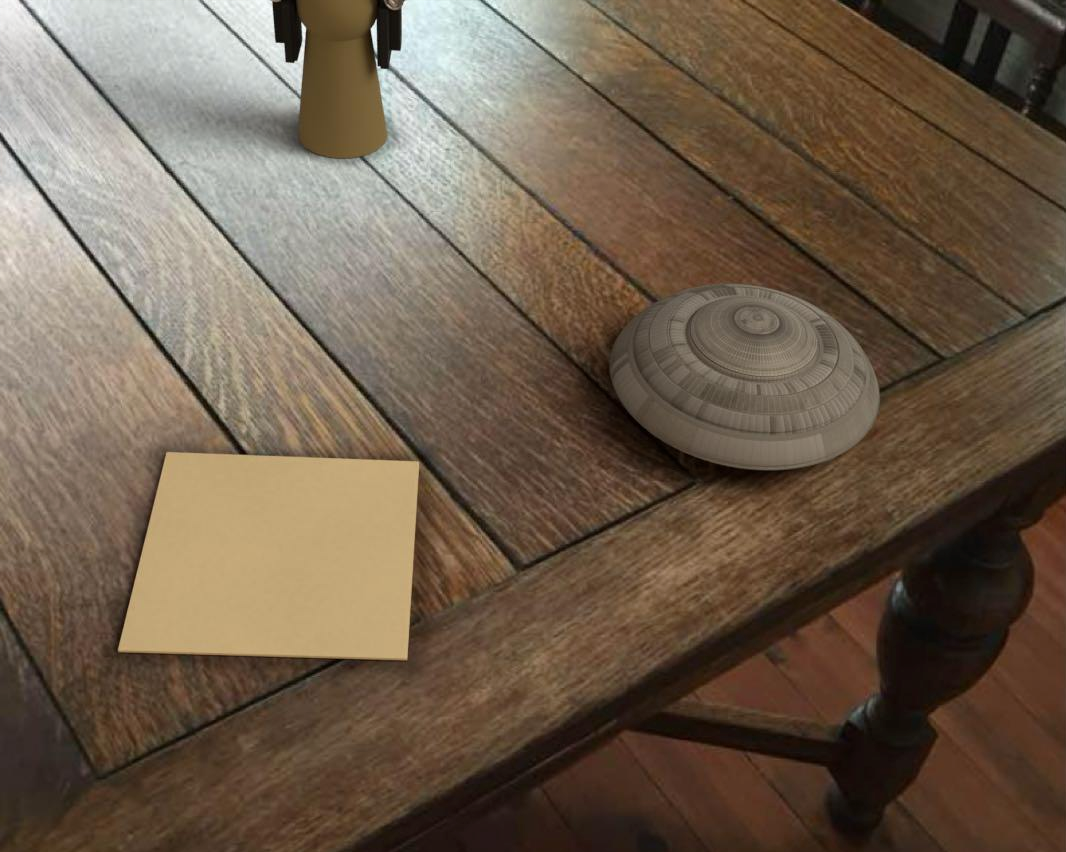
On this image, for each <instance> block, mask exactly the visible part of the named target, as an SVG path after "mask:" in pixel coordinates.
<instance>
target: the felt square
mask: <svg viewBox="0 0 1066 852" xmlns="http://www.w3.org/2000/svg"><path fill="white" fill-rule="evenodd" d="M419 472H420V461H416V460H392V459H390V460H388V459H387V460H386V459H366V458H365V459H363V458H338V457H336V458H335V457H313V456H311V457H309V456H285V455H284V456H283V455H282V456H281V455H259V454H258V455H256V454H255V455H254V454H234V453H233V454H231V453H229V454H228V453H206V452H205V453H204V452H203V453H202V452H179V451H178V452H175V451H166V453H165V457H164V461H163V465H162V469H161V474H160V477H159V480H158V485H157V489H156V493H155V497H154V502H153V505H152V510H151V514H150V518H149V521H148V525H147V529H146V533H145V537H144V541H143V542H144V543H143V546H142V550H141V554H140V558H139V561H138V567H137V570H136V575H135V579H134V583H133V587H132V591H131V594H130V599H129V604H128V608H127V610H126V615H125V619H124V624H123V627H122V631H121V635H120V640H119V644H118V647H117V652H118V653H130V654H131V653H133V654H164V655H165V654H166V655H167V654H169V655H202V656H203V655H204V656H205V655H206V656H235V657H238V656H239V657H241V656H242V657H268V658H269V657H271V658H272V657H273V658H306V659H307V658H311V659H337V660H338V659H340V660H341V659H342V660H343V659H344V660H372V661H373V660H374V661H377V660H378V661H379V660H380V661H408V657H409V656H408V653H409V638H410V637H409V636H410V624H411V623H410V622H411V604H412V590H413V573H414V557H415V542H416V541H415V540H416V524H417V508H418V507H417V506H418V490H419V488H418V487H419V475H420V473H419Z"/></svg>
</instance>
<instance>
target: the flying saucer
mask: <svg viewBox="0 0 1066 852" xmlns="http://www.w3.org/2000/svg"><path fill="white" fill-rule="evenodd" d="M610 351H611V352H610V356H609V374H610V379H611V383H612V386H613V388H614V389H613V390H614V391H615V393H616V396H617V397H618V399H619V401H620V402H621V404H622V405H623V407H624V408H625V409H626V411H627V412H628V414H629V415H631V417H633V419H634V420H635V421H636V422H637V423H638V424H639V425H640V426H641V427H642V428H644V429H645V430H647V432H649V433H650V434H652V435H653V436H655V437H656V438H657V439H659V440H660V441H662V442H663V443H665V444H667V445H669V446H670V447H672V448H674V449H676V450H678V451H681V452H682V453H685V454H687V455H689V456H692V457H695V458H698V459H700V460H703V461H706V462H710V463H713V464H717V465H720V466H725V467H728V468H729V467H730V468H735V469H743V470H751V471H785V470H793V469H794V470H796V469H800V468H806V467H810V466H814V465H818V464H822V463H824V462H827V461H829V460H832V459H834V458H836V457H838V456H840V455H842V454H844V453H845V452H847V451H849V450H850V449H852V448H853V447H855V446H856V445H857V444H858V443H859V442H860V441H861V440H863V438H865V436H866V435H867V434H868V433H869V431H870V430H871V429H872V427H873V425H874V423H875V421H876V418H877V416H878V412H879V409H880V402H881V401H880V397H881V393H880V386H879V382H878V379H877V376H876V372H875V370H874V367H873V365H872V363H871V361H870V359H869V358H868V356H867V354H866V352H865V351H864V349H863V348H862V347H861V345H860V344H859V343H858V341H857V340H856V339H855V337H854V336H853V335H852V334H851V333H850V332H849V330H847V328H845V327H844V325H842V324H841V323H840V322H839V321H837V320H836V319H835V318H834V317H833V316H832V315H830V314H829V313H827V312H826V311H824V310H822V309H821V308H819V307H818V306H816V305H814V304H812V303H810V302H809V301H807V300H805V299H802V298H800V297H798V296H795V295H792V294H790V293H787V292H785V291H781V290H777V289H773V288H770V287H765V286H759V285H754V284H745V283H714V284H706V285H700V286H695V287H690V288H686V289H685V290H680V291H678V292H675V293H672V294H670V295H667V296H665V297H663V298H661V299H659V300H657V301H656V302H654V303H652V304H650V305H648V306H647V307H645V309H642V311H640V312H639V313H638V314H636V315H635V316H634V317H632V319H631V320H630V321H628V323H627V324H626V325H625V326H624V327H623V328H622V330H621V331H620V332H619V334H618V336H617V337H616V339H615V341H614V343H613V346H612V348H611V350H610Z"/></svg>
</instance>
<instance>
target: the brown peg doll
mask: <svg viewBox="0 0 1066 852" xmlns="http://www.w3.org/2000/svg"><path fill="white" fill-rule="evenodd" d="M378 1H379V0H296V7H297V12H298V15H299V18H300V21H301V23H302V26H304V27H305V36H304V50H303V63H302V75H301V86H300V101H299V111H298V112H299V113H298V124H297V125H298V127H297V136H298V141H299V142H300V144H301V145H302V146H303V148H306V149H307V150H308V151H310V152H312V153H313V154H317V155H318V156H319V155H320V156H322V157H326V158H334V159H356V158H360V157H363V156H368V155H370V154H372V153H374V152H376V151H378V150H379V149H381V148H382V147H383V146H384V145H385V144H386V142H387V139H388V131H387V124H386V117H385V112H384V111H385V110H384V104H383V97H382V92H381V85H380V79H379V73H378V66H377V61H376V60H377V58H376V54H375V53H376V52H375V48H374V41H373V35H372V28H373V27H374V26H375V23H376V22H377V20H376V12H377V6H378Z"/></svg>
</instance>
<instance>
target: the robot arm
mask: <svg viewBox="0 0 1066 852" xmlns="http://www.w3.org/2000/svg"><path fill="white" fill-rule="evenodd" d="M270 1H271V5H272V19H273V30H274V31H273V32H274V41H275V43H276V44H283V46H284V59H285V63H287V64H295V62H298V60H299V57H300V52H301V48H302V44H303V23H302V22H301V21H300V18H299V15H298V12H297V7H296V0H270ZM405 1H406V0H379V1H378V6H377V12H376V60H377V61H376V66H377V67H379V68H380V69H381V70H389V69H390V64H391V58H392V52H401V51H402V41H403V33H402V32H403V11H402V10H403V9H402V8H403V6H404V3H405Z"/></svg>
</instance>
